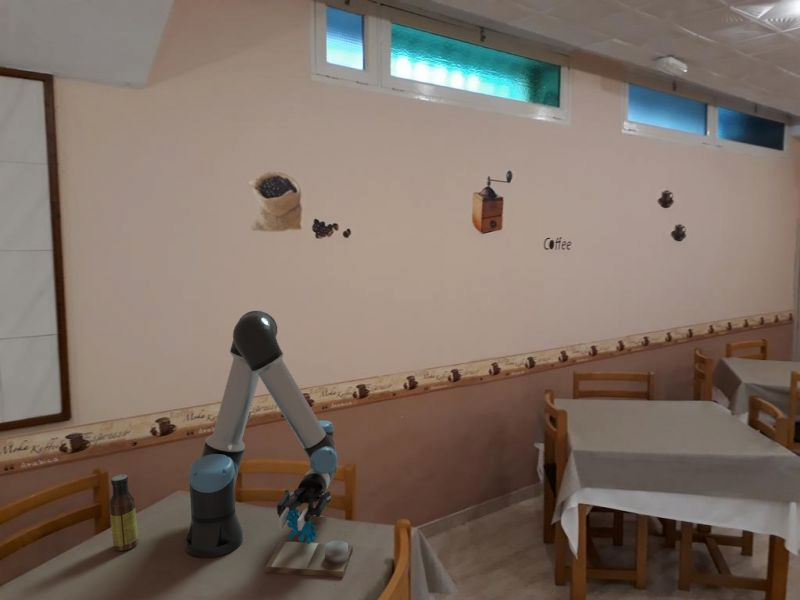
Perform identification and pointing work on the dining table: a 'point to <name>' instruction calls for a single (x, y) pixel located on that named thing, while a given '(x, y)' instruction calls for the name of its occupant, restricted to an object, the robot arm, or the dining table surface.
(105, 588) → the dining table surface
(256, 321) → the robot arm
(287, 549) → the wooden board
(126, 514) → the sauce bottle
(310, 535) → the gear
